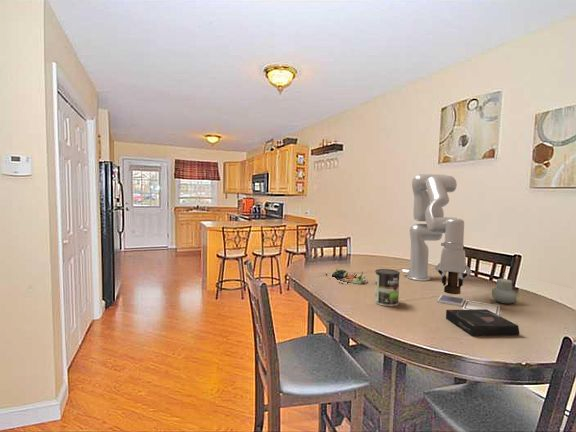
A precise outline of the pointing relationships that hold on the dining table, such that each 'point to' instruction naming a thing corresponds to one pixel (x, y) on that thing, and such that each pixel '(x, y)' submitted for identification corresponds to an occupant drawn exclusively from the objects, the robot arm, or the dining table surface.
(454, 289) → the brown wooden tall piece
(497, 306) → the paper sheet
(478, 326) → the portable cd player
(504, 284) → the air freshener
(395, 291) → the coffee can
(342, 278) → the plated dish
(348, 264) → the dining table surface
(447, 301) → the pad
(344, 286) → the dining table surface
